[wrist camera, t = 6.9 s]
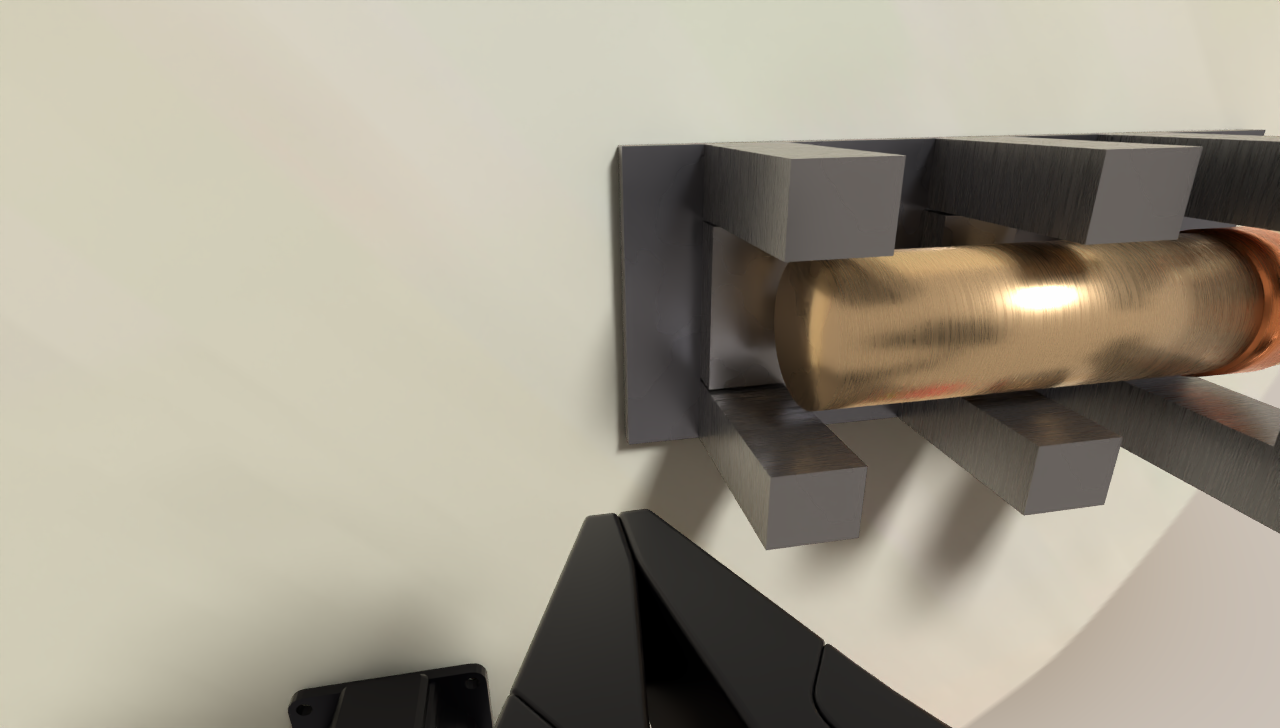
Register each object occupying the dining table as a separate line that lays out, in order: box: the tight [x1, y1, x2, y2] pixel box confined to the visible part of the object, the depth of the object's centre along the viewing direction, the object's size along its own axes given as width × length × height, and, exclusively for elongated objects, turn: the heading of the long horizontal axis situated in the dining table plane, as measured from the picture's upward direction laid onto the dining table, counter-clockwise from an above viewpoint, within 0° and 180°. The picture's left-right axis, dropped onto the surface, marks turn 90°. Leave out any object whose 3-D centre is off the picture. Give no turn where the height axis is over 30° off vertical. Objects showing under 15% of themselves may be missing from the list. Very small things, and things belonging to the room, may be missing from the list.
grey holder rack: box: [618, 130, 1280, 550], centre depth 18 cm, size 9×21×9 cm, turn 91°
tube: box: [774, 226, 1280, 411], centre depth 18 cm, size 4×14×4 cm, turn 91°
